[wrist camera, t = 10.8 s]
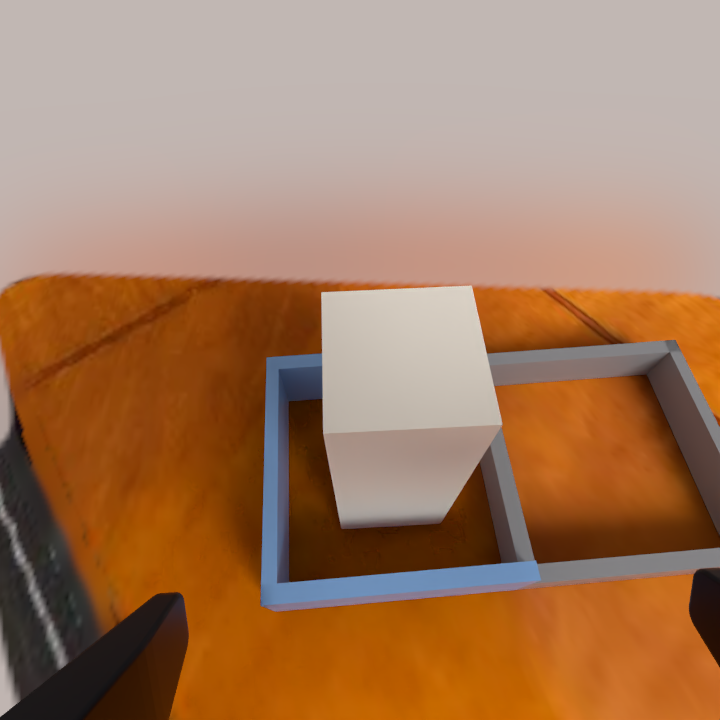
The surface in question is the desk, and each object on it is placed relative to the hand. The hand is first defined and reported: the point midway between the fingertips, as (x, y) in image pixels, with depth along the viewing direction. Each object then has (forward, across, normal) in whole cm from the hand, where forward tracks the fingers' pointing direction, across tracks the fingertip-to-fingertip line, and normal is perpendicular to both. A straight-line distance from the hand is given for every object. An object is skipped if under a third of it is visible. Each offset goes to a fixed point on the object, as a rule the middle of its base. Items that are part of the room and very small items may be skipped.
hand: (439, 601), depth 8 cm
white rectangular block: (+11, 0, +4) cm, 12 cm away
